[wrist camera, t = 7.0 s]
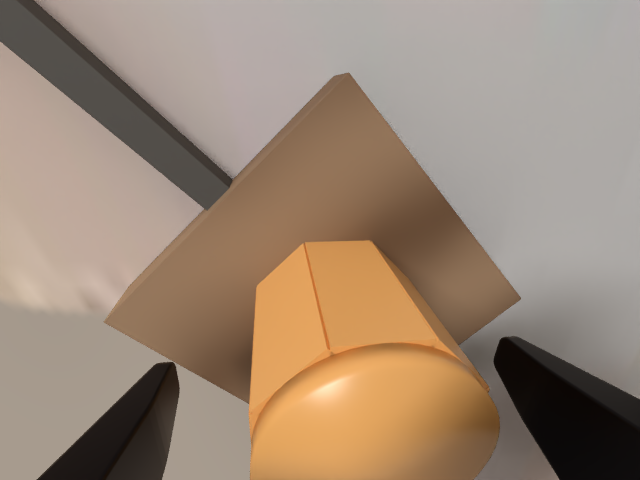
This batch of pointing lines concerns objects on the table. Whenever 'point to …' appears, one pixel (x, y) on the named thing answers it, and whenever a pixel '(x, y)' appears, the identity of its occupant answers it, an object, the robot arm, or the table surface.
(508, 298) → the peg block
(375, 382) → the orange domed octagonal post
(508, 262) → the table surface
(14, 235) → the table surface
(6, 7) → the bar
